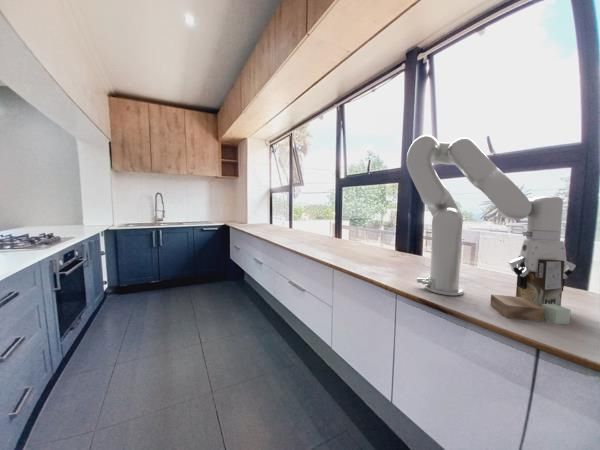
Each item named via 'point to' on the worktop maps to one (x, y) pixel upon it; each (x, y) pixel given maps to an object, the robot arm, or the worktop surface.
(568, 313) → the cube
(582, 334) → the worktop surface
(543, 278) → the coffee box
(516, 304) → the base block
